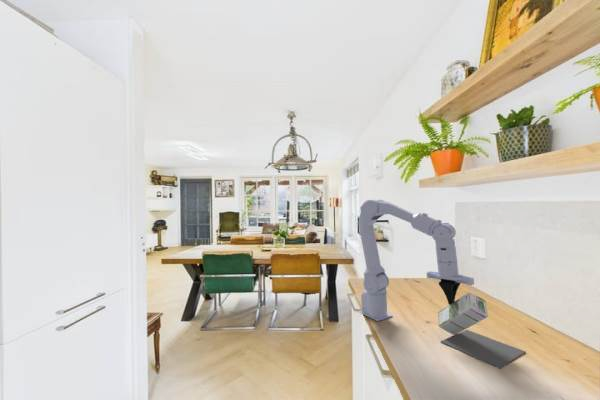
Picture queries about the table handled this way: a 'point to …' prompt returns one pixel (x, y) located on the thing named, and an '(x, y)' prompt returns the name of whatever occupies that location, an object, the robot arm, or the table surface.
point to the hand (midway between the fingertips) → (451, 303)
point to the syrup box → (462, 313)
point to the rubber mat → (483, 348)
